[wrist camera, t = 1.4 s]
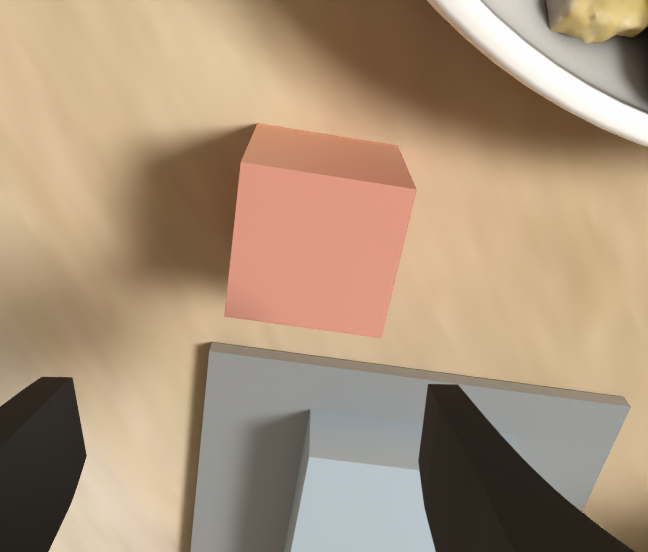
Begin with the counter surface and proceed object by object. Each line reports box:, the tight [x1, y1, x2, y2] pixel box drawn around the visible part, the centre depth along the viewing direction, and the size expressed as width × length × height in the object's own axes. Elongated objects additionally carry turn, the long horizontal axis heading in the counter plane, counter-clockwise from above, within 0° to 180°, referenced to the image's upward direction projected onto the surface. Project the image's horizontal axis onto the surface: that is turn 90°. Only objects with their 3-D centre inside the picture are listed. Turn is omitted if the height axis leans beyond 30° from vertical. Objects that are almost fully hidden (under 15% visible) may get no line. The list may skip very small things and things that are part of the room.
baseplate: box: [190, 342, 631, 552], centre depth 26 cm, size 16×12×1 cm
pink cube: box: [224, 123, 417, 338], centre depth 19 cm, size 4×4×4 cm
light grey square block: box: [284, 409, 524, 552], centre depth 24 cm, size 8×8×3 cm
